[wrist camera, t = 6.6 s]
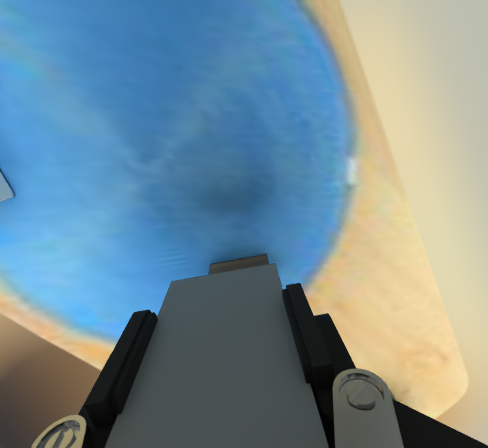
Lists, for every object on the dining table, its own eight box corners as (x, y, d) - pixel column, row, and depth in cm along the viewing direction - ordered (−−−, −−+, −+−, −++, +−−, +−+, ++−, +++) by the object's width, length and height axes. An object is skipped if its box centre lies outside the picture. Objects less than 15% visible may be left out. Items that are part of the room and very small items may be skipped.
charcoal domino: (171, 281, 14) (29, 634, 4) (274, 263, 13) (368, 585, 4) (181, 315, 14) (79, 687, 5) (280, 298, 14) (373, 649, 5)
